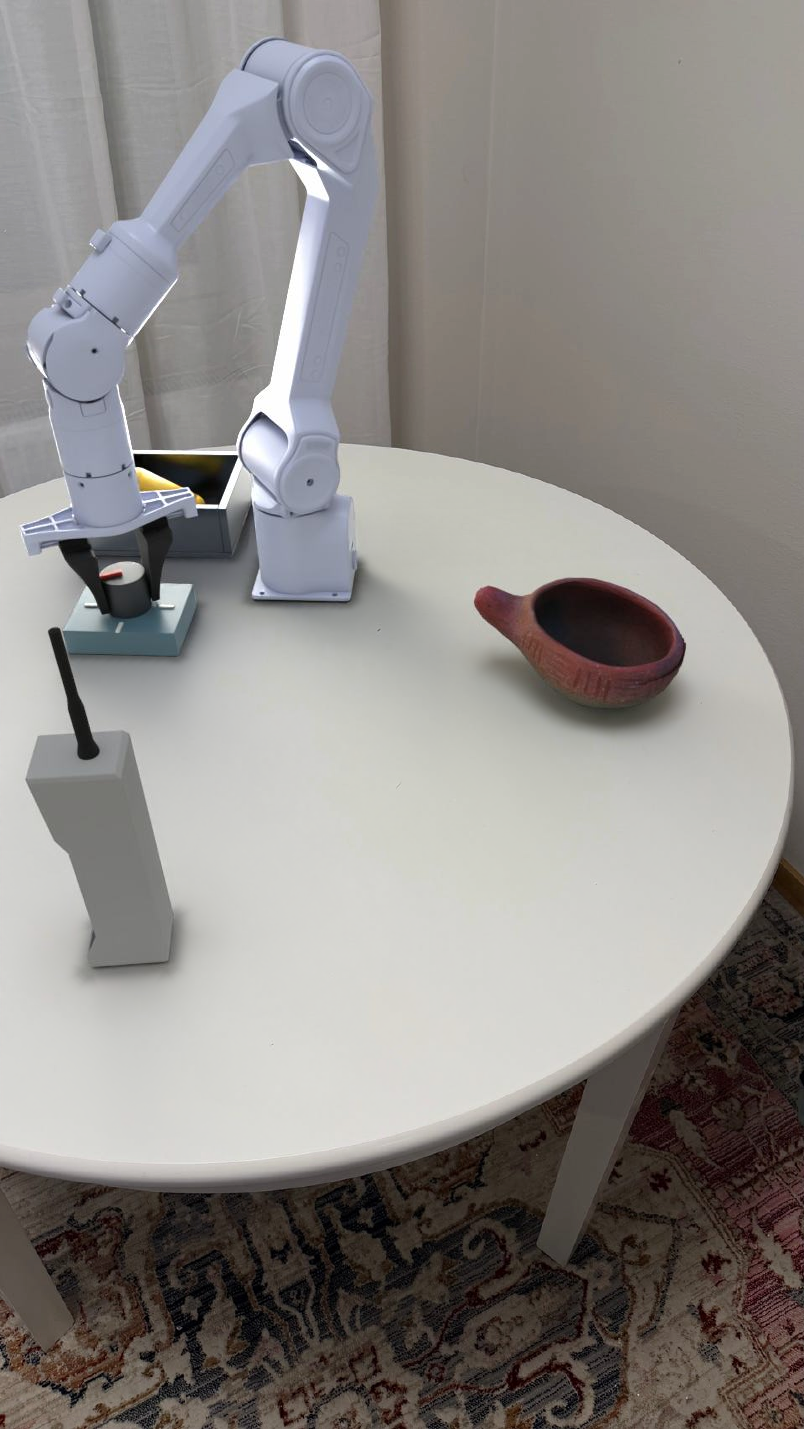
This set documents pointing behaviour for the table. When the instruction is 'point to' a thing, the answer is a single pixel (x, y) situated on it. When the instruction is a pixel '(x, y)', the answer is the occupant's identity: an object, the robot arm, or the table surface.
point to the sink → (217, 520)
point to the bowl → (589, 639)
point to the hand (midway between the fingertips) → (128, 601)
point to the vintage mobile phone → (103, 831)
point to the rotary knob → (126, 589)
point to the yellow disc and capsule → (158, 484)
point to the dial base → (132, 625)
